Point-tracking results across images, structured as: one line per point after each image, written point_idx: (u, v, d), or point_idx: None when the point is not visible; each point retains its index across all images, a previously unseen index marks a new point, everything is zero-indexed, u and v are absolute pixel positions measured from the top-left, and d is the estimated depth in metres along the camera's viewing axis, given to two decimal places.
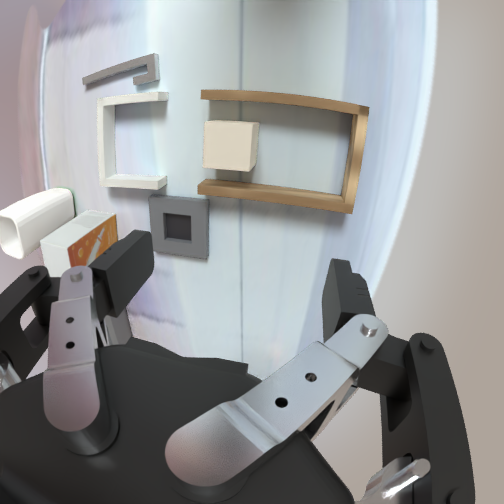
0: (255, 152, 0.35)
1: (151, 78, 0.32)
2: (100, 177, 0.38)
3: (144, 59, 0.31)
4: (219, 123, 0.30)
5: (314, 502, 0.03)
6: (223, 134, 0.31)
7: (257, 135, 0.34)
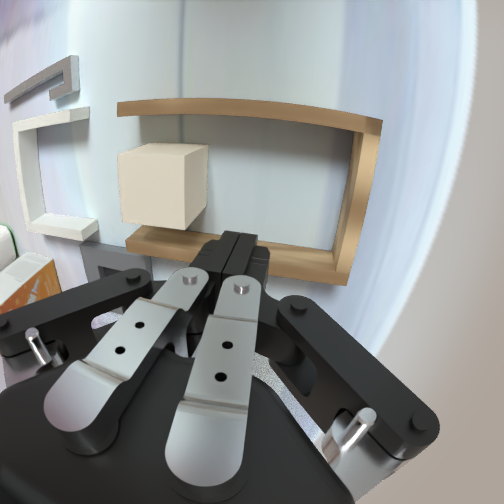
0: (202, 192, 0.23)
1: (67, 90, 0.20)
2: (25, 220, 0.27)
3: (60, 65, 0.19)
4: (136, 156, 0.19)
5: (314, 502, 0.03)
6: (143, 173, 0.19)
7: (204, 165, 0.23)
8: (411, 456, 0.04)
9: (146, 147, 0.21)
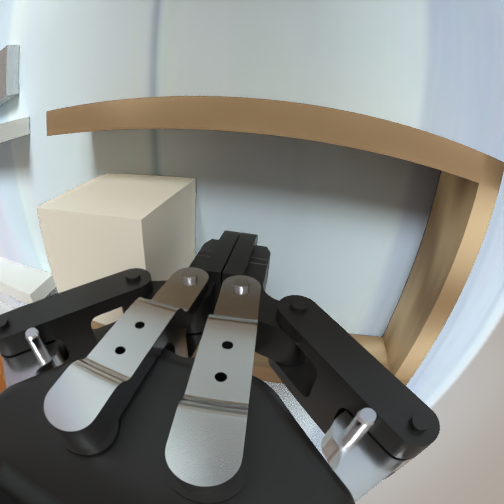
0: (185, 261, 0.14)
1: (1, 95, 0.11)
2: None
3: None
4: (63, 213, 0.09)
5: (314, 502, 0.03)
6: (77, 244, 0.10)
7: (188, 216, 0.14)
8: (411, 456, 0.04)
9: (90, 187, 0.12)
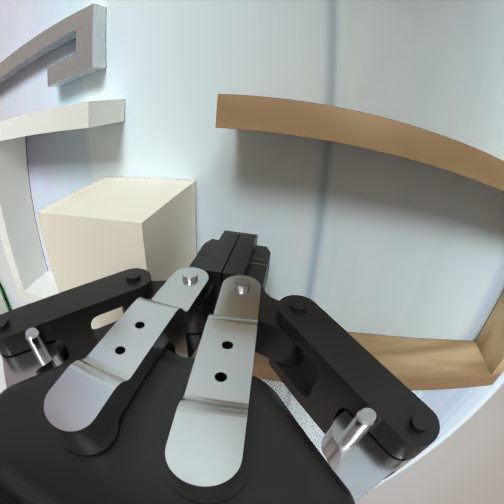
0: (186, 262, 0.14)
1: (83, 65, 0.10)
2: (17, 285, 0.16)
3: (72, 22, 0.09)
4: (64, 218, 0.10)
5: (314, 502, 0.03)
6: (78, 247, 0.10)
7: (189, 218, 0.14)
8: (411, 456, 0.04)
9: (91, 191, 0.12)
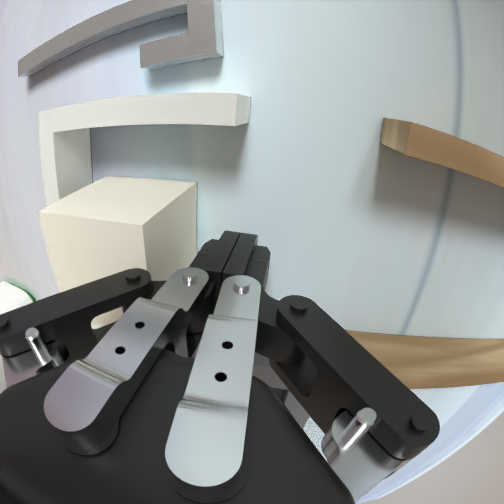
0: (186, 264, 0.14)
1: (201, 48, 0.10)
2: None
3: None
4: (64, 218, 0.10)
5: (314, 502, 0.03)
6: (79, 248, 0.10)
7: (190, 219, 0.14)
8: (411, 456, 0.04)
9: (92, 191, 0.12)
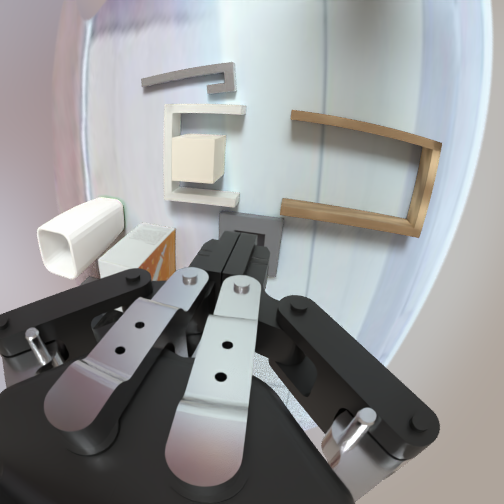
0: (221, 164, 0.37)
1: (229, 89, 0.32)
2: (165, 190, 0.38)
3: (221, 67, 0.31)
4: (185, 139, 0.32)
5: (314, 502, 0.03)
6: (188, 149, 0.33)
7: (223, 147, 0.37)
8: (411, 456, 0.04)
9: (187, 135, 0.35)
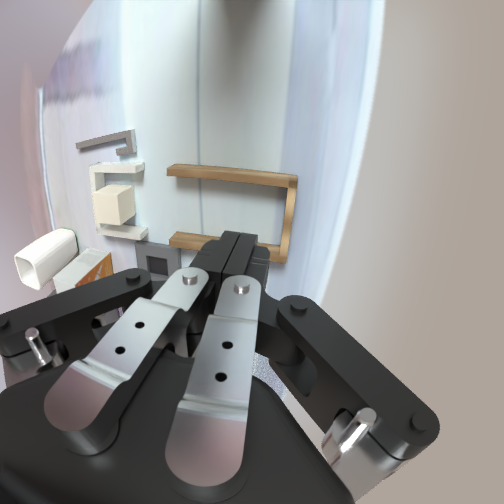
0: (131, 208, 0.48)
1: (130, 151, 0.43)
2: (96, 227, 0.49)
3: (123, 134, 0.42)
4: (100, 194, 0.43)
5: (314, 502, 0.03)
6: (103, 201, 0.44)
7: (131, 195, 0.48)
8: (411, 456, 0.04)
9: (105, 188, 0.46)
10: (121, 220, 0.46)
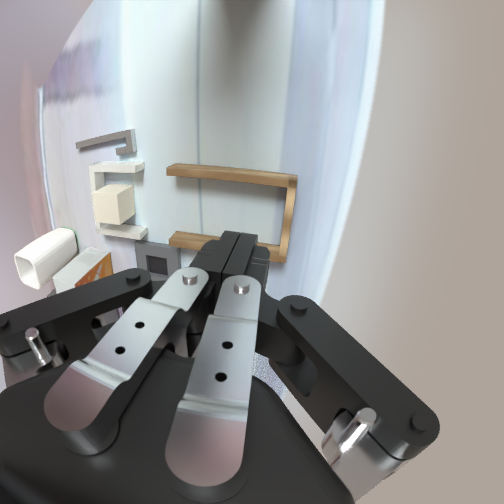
0: (130, 207, 0.48)
1: (129, 151, 0.43)
2: (96, 226, 0.49)
3: (123, 134, 0.42)
4: (99, 193, 0.43)
5: (314, 502, 0.03)
6: (103, 201, 0.44)
7: (131, 195, 0.48)
8: (411, 456, 0.04)
9: (105, 188, 0.46)
10: (121, 220, 0.46)
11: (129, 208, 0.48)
